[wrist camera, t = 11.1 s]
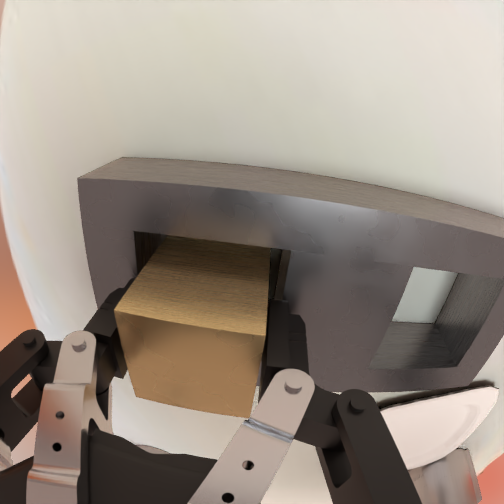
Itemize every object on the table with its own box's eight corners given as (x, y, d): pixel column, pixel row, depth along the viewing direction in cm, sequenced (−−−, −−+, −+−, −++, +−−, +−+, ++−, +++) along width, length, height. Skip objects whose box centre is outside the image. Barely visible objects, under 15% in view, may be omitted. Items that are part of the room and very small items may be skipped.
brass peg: (271, 223, 15) (265, 335, 8) (261, 295, 17) (249, 417, 10) (185, 212, 15) (113, 310, 8) (185, 284, 17) (135, 396, 10)
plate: (318, 471, 30) (319, 483, 28) (346, 395, 21) (348, 412, 20) (443, 451, 28) (446, 460, 26) (509, 366, 20) (516, 378, 18)
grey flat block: (506, 219, 13) (546, 249, 10) (448, 345, 18) (468, 385, 14) (122, 157, 14) (77, 178, 10) (136, 314, 18) (111, 357, 15)
